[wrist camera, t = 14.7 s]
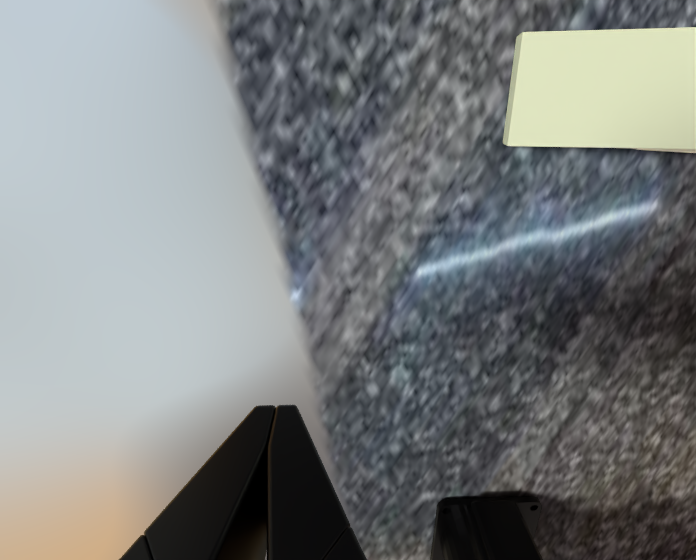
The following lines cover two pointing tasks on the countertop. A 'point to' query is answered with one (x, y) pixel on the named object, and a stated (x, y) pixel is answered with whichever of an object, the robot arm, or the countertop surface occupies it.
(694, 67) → the domino
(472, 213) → the countertop surface
